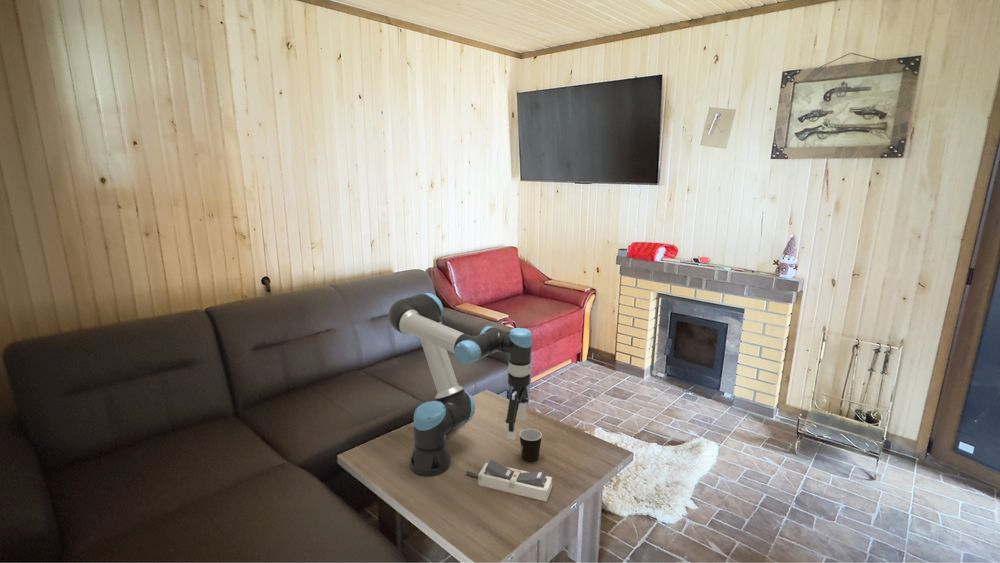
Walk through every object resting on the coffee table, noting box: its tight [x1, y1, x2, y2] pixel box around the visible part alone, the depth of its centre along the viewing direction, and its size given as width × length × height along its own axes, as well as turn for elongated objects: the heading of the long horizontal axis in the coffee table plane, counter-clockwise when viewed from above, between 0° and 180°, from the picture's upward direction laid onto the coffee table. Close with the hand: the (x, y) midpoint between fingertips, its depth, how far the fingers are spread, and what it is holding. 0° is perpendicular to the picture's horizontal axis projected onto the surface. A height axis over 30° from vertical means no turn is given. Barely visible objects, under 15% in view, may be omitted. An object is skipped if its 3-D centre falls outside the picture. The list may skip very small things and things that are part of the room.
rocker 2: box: [517, 470, 547, 485], centre depth 164 cm, size 9×5×2 cm, turn 70°
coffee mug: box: [519, 428, 543, 463], centre depth 184 cm, size 12×9×10 cm
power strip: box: [465, 461, 553, 503], centre depth 167 cm, size 31×8×5 cm, turn 70°
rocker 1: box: [485, 459, 513, 480], centre depth 168 cm, size 9×5×2 cm, turn 70°
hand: (516, 428), depth 167 cm, fingers open, 13 cm apart
